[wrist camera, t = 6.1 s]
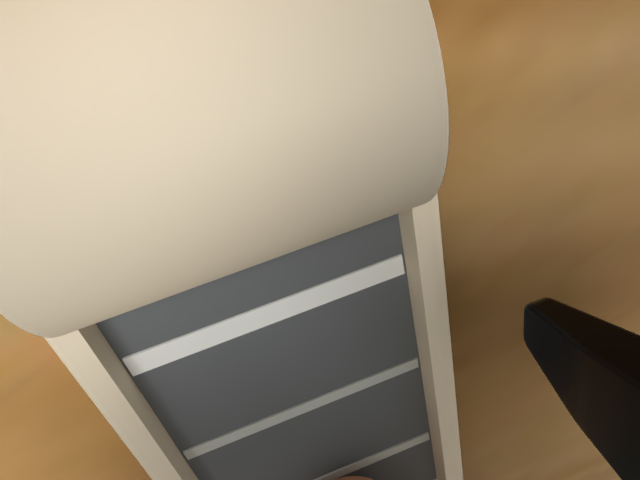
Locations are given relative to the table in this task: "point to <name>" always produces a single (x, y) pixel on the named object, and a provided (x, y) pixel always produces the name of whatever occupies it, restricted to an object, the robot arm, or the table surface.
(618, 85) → the table surface
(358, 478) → the ball
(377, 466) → the lane
